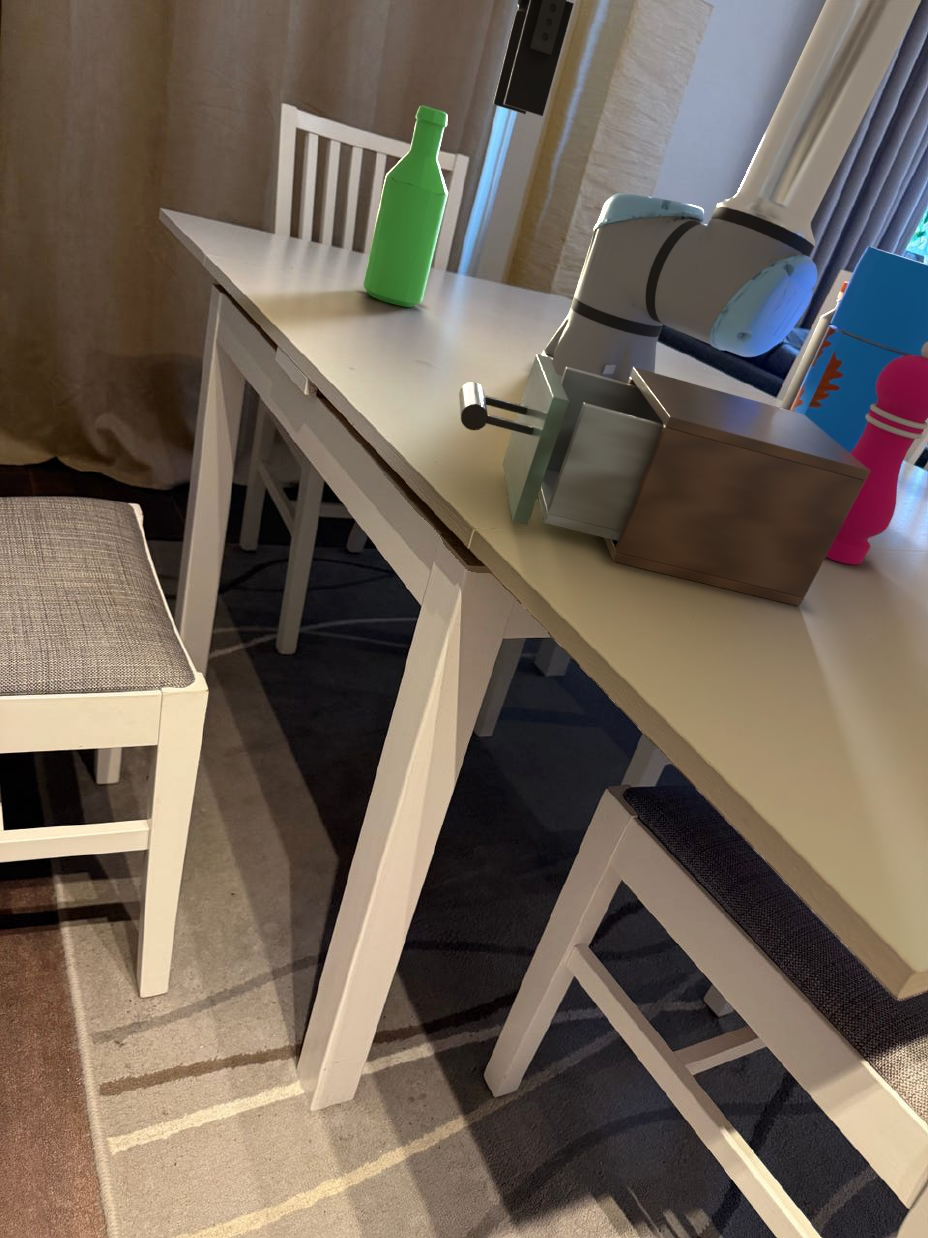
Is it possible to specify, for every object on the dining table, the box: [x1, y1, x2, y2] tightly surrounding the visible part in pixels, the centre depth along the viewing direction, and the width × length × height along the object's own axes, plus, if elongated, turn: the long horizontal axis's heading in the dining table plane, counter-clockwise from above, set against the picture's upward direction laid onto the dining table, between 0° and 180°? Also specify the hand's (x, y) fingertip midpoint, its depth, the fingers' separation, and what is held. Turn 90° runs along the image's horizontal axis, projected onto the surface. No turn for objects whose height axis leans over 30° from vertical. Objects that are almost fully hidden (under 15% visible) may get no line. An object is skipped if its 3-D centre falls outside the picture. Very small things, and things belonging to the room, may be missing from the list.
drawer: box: [458, 353, 664, 541], centre depth 70 cm, size 20×12×10 cm, turn 91°
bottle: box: [363, 105, 449, 308], centre depth 124 cm, size 9×9×25 cm
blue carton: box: [790, 245, 928, 453], centre depth 94 cm, size 11×11×25 cm
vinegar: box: [779, 281, 849, 410], centre depth 125 cm, size 7×7×20 cm
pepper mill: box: [825, 342, 928, 566], centre depth 80 cm, size 7×7×20 cm
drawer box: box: [604, 367, 870, 607], centre depth 72 cm, size 16×14×12 cm
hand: (515, 110), depth 66 cm, fingers open, 13 cm apart
